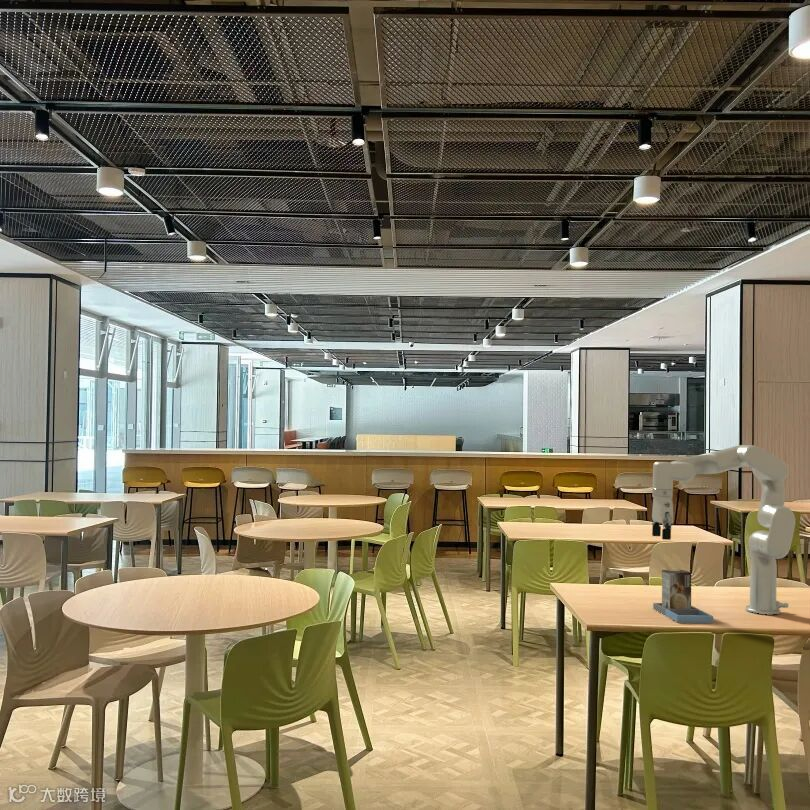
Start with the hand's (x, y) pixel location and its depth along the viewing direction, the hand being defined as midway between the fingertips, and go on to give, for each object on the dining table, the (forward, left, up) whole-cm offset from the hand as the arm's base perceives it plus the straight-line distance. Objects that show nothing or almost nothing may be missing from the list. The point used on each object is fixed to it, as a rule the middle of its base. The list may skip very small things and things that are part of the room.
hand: (661, 537), depth 308 cm
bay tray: (-6, +8, -28) cm, 30 cm away
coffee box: (-6, +2, -29) cm, 29 cm away
